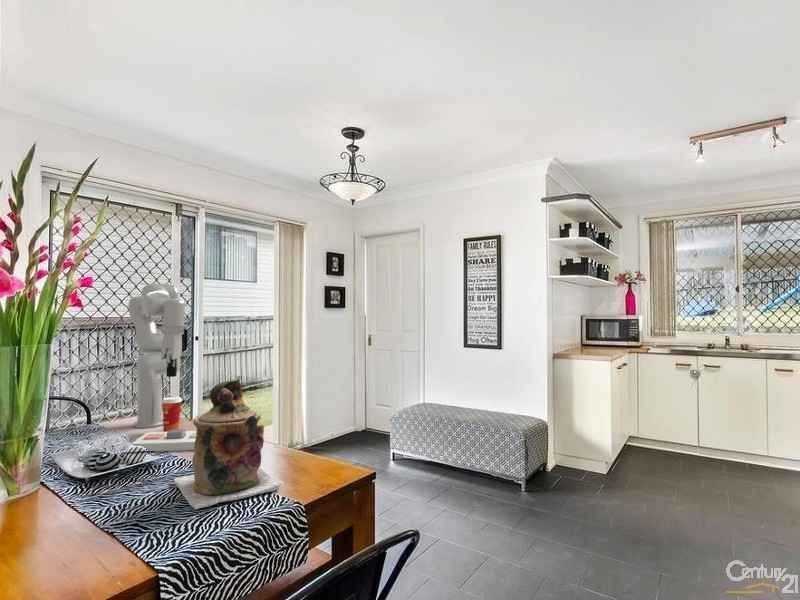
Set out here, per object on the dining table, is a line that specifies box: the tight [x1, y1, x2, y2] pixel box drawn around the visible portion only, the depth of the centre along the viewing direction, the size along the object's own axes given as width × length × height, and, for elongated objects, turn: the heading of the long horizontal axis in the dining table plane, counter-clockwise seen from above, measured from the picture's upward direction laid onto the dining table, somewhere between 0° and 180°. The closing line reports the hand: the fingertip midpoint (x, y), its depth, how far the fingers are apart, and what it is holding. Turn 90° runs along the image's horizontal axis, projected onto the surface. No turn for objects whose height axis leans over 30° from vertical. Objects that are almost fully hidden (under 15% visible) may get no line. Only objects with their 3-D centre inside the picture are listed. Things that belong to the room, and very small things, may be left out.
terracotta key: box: [144, 434, 164, 440], centre depth 170 cm, size 5×5×2 cm
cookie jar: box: [173, 375, 284, 511], centre depth 131 cm, size 25×25×32 cm
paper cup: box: [162, 396, 183, 432], centre depth 189 cm, size 8×8×14 cm
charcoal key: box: [167, 428, 187, 439], centre depth 171 cm, size 5×5×2 cm
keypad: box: [129, 430, 197, 452], centre depth 171 cm, size 16×26×3 cm, turn 100°
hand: (171, 376), depth 178 cm, fingers closed
